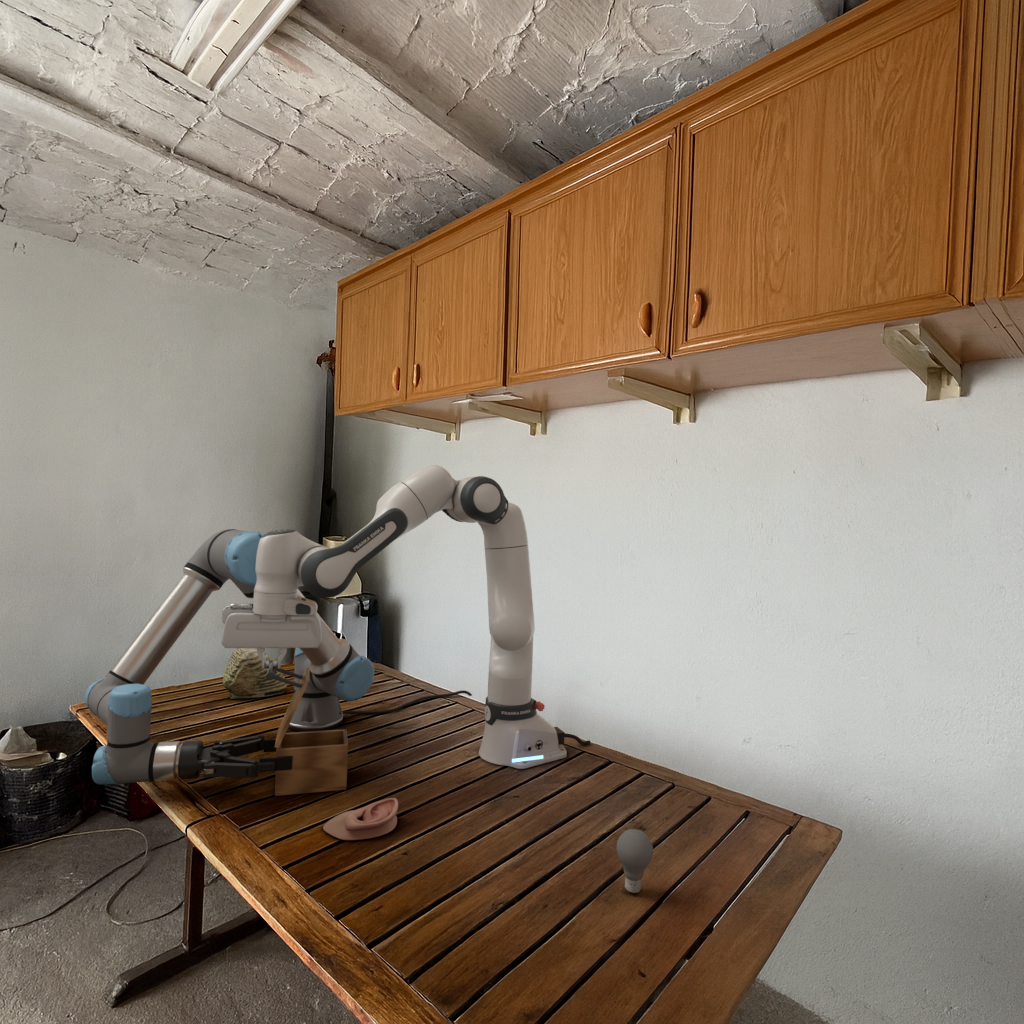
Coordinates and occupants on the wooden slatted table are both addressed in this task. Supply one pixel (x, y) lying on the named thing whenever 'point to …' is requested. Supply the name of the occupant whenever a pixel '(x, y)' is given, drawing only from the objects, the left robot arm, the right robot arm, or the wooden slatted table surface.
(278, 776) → the chest
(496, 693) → the right robot arm
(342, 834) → the anatomical model
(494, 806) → the wooden slatted table surface
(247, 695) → the fossil
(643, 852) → the light bulb
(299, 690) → the lid
